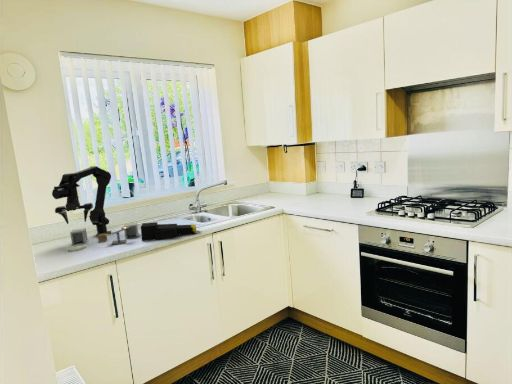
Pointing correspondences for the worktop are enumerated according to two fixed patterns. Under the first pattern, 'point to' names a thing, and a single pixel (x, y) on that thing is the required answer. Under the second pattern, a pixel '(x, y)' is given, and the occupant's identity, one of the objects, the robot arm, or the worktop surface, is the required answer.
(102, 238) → the block
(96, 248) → the worktop surface
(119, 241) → the balance
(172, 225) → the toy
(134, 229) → the cover
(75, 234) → the cover
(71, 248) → the dish
